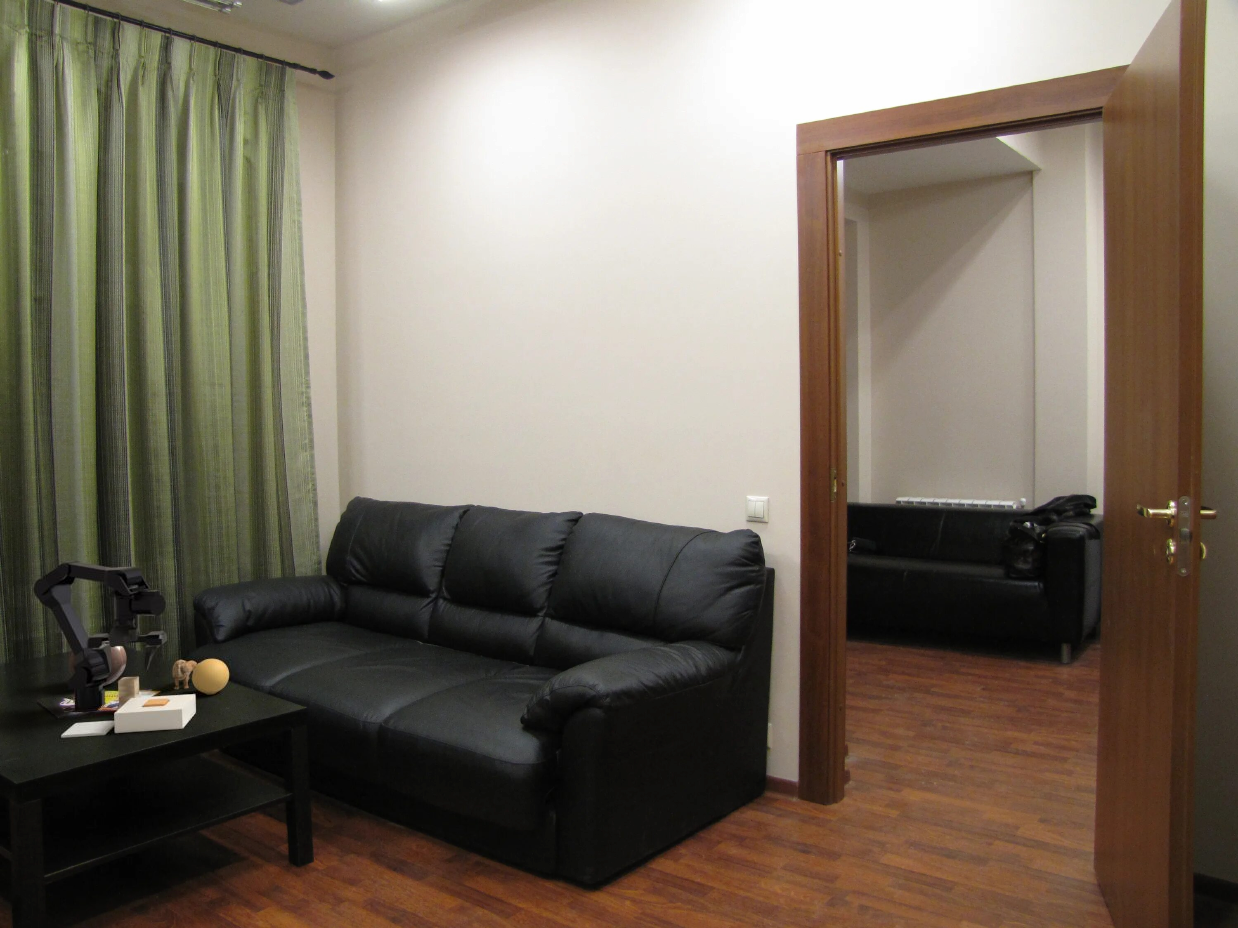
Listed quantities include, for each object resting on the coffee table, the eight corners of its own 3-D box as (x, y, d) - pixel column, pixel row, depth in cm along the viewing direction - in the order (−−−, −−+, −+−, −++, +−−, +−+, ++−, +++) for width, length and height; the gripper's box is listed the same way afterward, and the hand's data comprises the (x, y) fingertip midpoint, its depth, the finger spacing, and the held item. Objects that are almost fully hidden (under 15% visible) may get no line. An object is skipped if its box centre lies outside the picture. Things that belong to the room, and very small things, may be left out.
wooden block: (119, 714, 254) (118, 681, 254) (123, 709, 258) (122, 677, 258) (135, 713, 255) (134, 680, 255) (139, 708, 259) (138, 676, 259)
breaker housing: (114, 732, 239) (114, 713, 238) (131, 716, 252) (131, 697, 252) (182, 728, 242) (182, 708, 242) (195, 712, 255) (195, 693, 255)
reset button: (143, 716, 244) (143, 704, 244) (149, 710, 249) (148, 699, 249) (163, 714, 245) (163, 703, 245) (168, 709, 250) (168, 698, 250)
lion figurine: (188, 691, 276) (187, 661, 276) (169, 692, 275) (168, 662, 275) (203, 678, 290) (202, 649, 290) (185, 679, 290) (184, 650, 289)
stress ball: (225, 699, 271) (242, 670, 278) (203, 678, 266) (221, 650, 273) (200, 701, 275) (217, 672, 282) (178, 681, 269) (196, 652, 277)
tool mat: (61, 737, 235) (61, 735, 235) (75, 725, 245) (75, 722, 245) (104, 734, 237) (104, 732, 237) (117, 722, 247) (117, 720, 247)
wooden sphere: (124, 689, 279) (122, 639, 278) (65, 695, 273) (64, 643, 273) (129, 677, 293) (128, 629, 292) (74, 682, 287) (73, 633, 286)
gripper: (78, 621, 246) (79, 680, 247) (155, 618, 250) (156, 676, 250) (93, 613, 257) (94, 669, 258) (166, 610, 261) (168, 666, 261)
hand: (128, 670), depth 256 cm, fingers open, 9 cm apart
